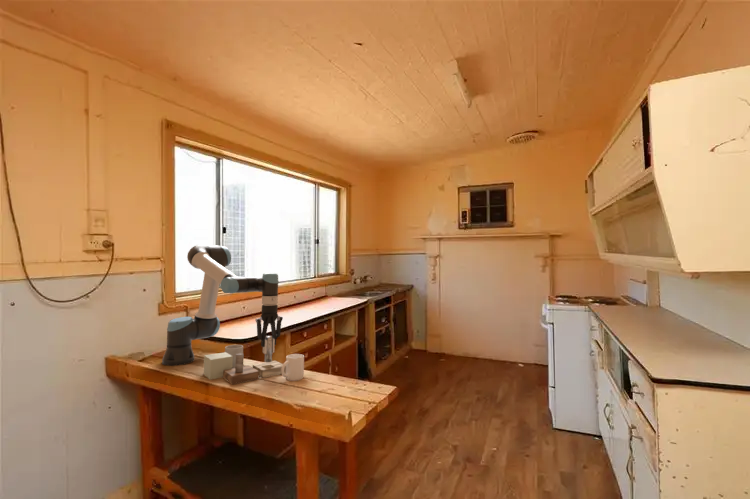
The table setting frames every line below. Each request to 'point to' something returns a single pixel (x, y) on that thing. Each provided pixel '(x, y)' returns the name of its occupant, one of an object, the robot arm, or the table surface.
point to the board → (241, 376)
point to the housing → (217, 364)
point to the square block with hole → (269, 368)
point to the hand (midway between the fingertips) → (268, 352)
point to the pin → (269, 349)
